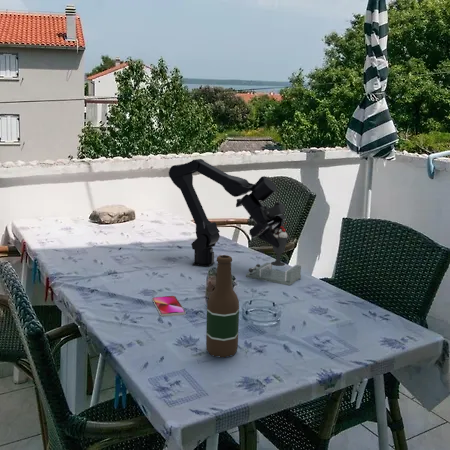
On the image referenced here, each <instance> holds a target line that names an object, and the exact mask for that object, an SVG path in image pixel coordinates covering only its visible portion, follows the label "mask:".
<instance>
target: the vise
mask: <svg viewBox="0 0 450 450" xmlns="http://www.w3.org/2000/svg"><path fill="white" fill-rule="evenodd" d="M301 272H302V265H299V264H295V265H293V266H291V267H290V268H288V269H287V270H285V271H281V270H276V269H273V265H272V264H271V262H265V263H263V264H262V265H261V264H259V263H257V264H256V265H255V266H254V267H250V268H248V272H247V273H246V274H245V277H246V278H250V279H255V280H260V281H265V282H270V283H277V284H281V285H285V286H291V285H292V284H295V282H297V281H298V280H300V279H301V278H302V274H301Z"/></svg>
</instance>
